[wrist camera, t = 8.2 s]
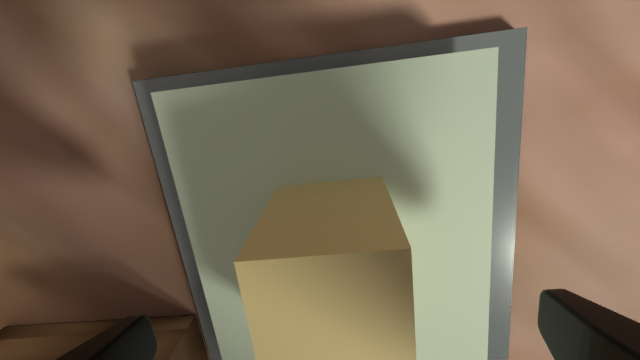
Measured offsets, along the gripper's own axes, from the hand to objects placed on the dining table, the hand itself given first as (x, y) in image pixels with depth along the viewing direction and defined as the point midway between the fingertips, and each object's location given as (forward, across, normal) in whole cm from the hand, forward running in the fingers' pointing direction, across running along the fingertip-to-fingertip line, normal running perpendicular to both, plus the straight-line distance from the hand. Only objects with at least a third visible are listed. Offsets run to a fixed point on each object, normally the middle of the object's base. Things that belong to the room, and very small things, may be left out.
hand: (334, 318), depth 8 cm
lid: (+4, 0, 0) cm, 4 cm away
